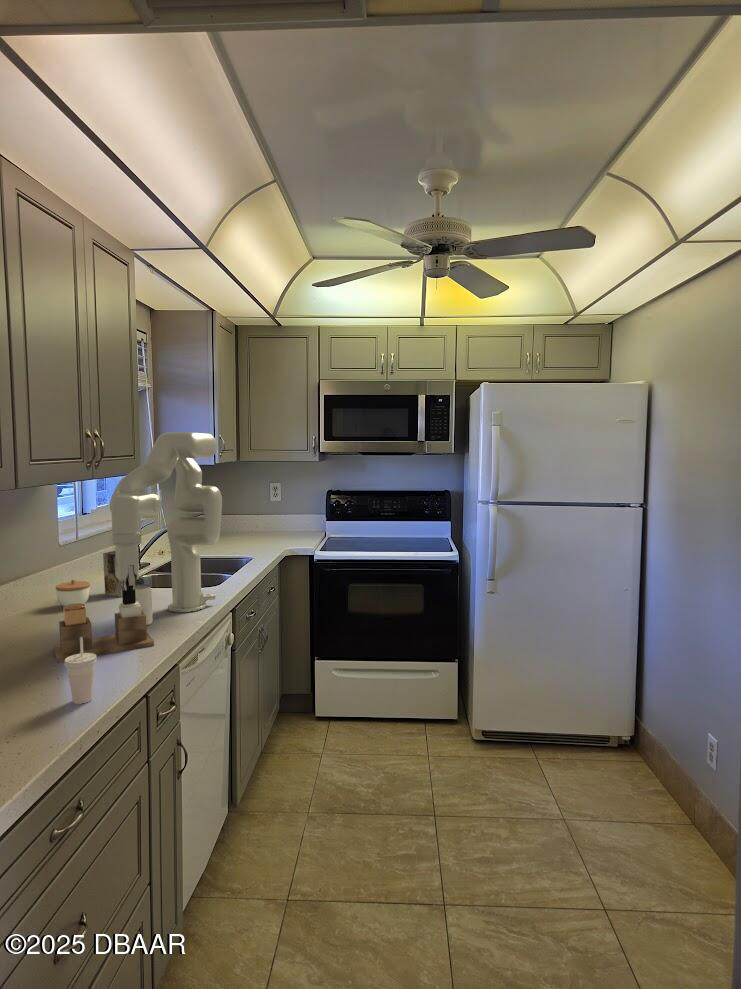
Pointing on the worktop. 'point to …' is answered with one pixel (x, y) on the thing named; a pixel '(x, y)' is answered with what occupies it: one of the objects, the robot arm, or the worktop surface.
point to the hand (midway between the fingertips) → (129, 603)
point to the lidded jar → (73, 592)
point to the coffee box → (111, 575)
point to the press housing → (126, 637)
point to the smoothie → (81, 675)
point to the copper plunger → (74, 614)
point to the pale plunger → (129, 610)
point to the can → (145, 601)
